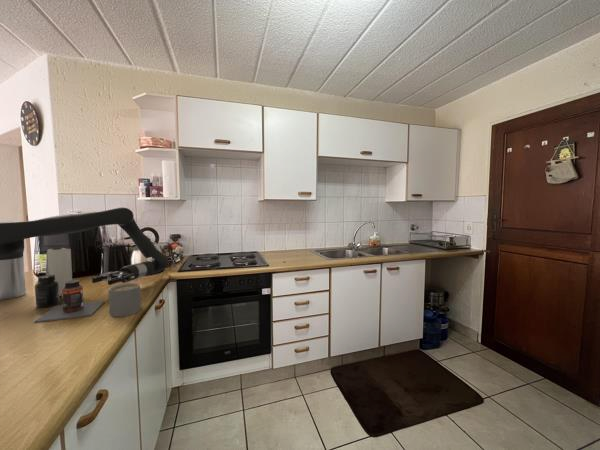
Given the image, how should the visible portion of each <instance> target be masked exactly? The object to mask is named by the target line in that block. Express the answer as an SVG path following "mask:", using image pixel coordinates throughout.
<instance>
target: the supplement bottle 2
mask: <svg viewBox="0 0 600 450" xmlns="http://www.w3.org/2000/svg"><path fill="white" fill-rule="evenodd" d="M83 290H84V287H83V286H82V285H81V284H80V280H78V279H72V281H67V282H65V287H64V288H63V289H62V296H61V298H62V299H61V301H62V305H63V311H64V312H74V311H78V310H80V309H82V308H83V307H84V303H85V302H84V291H83Z"/></svg>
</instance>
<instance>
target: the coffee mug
mask: <svg viewBox="0 0 600 450" xmlns="http://www.w3.org/2000/svg"><path fill="white" fill-rule="evenodd" d="M108 298H109V299H108V302H109V305H108V306H109V316H110V317H113V318H123V317H128V316H131V314H132V315H135V314H136V312H137V313H138V312H140V311H141V309H142V305H141V301H142V300H141V284H140V283H139V282H125V283H117V284H115V285H112V286H111V287H109V288H108ZM134 313H135V314H134Z"/></svg>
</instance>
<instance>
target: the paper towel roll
mask: <svg viewBox="0 0 600 450" xmlns="http://www.w3.org/2000/svg"><path fill="white" fill-rule="evenodd" d="M71 250H72V249H71V248H65V247H55V248H49V249H47V251H46V253H47V268H48V269H47V270H48V275H55V280H54V281H57V282H58V283H59V297H62V289H63V288H64V287H65V282H67V281H72V280H73V271H72V253H71V252H72V251H71Z"/></svg>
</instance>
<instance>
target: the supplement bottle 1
mask: <svg viewBox="0 0 600 450" xmlns="http://www.w3.org/2000/svg"><path fill="white" fill-rule="evenodd" d="M54 280H55V275H49V274H48V275H42V276H38V277H37V284H35V285H34V294H35V307H37V308H40V309H43V308H49V307H55V306H57V305H58V304H60V301H61V300H60V296H59V283H58V282H57V281H54Z"/></svg>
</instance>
